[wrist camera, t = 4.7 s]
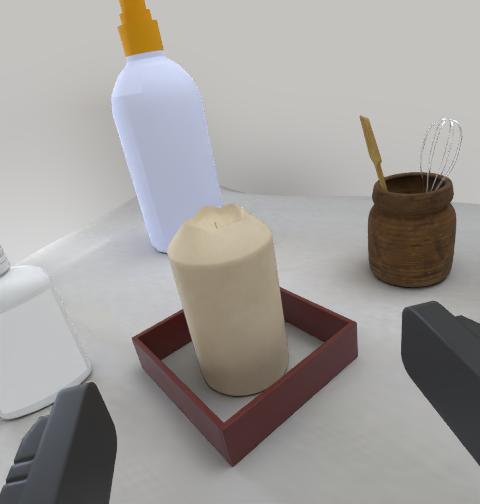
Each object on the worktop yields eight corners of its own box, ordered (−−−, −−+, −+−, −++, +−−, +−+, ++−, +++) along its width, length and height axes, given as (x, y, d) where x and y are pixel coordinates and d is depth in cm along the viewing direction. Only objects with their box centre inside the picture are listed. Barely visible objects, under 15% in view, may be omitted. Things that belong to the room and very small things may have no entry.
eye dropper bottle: (83, 406, 23) (-8, 220, 17) (-12, 427, 22) (-134, 245, 17) (98, 356, 27) (27, 192, 21) (18, 373, 26) (-75, 213, 21)
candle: (215, 412, 21) (170, 248, 16) (192, 351, 25) (152, 212, 21) (306, 374, 22) (286, 214, 17) (267, 323, 27) (244, 186, 22)
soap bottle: (249, 227, 42) (204, -33, 32) (180, 263, 37) (100, -31, 27) (203, 214, 49) (153, -7, 38) (138, 243, 44) (60, -2, 33)
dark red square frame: (252, 299, 30) (247, 272, 29) (358, 356, 23) (356, 322, 21) (142, 368, 25) (131, 338, 24) (232, 467, 18) (222, 430, 17)
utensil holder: (468, 283, 27) (490, 104, 22) (379, 296, 27) (378, 123, 22) (430, 246, 32) (439, 95, 27) (355, 257, 33) (350, 111, 27)
